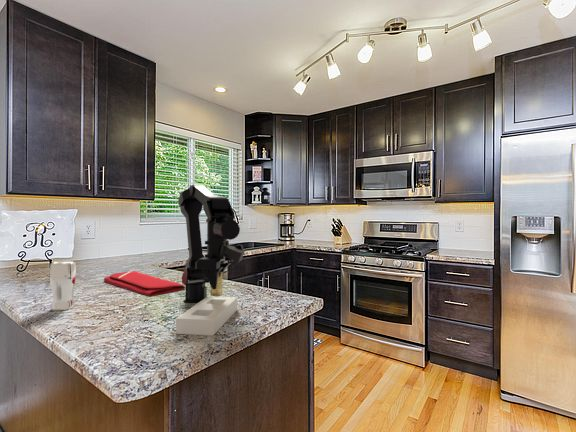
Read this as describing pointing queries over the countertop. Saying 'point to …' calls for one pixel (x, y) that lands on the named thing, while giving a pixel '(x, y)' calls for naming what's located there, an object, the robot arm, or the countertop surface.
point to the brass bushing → (219, 286)
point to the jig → (206, 316)
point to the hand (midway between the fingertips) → (216, 287)
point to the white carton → (62, 284)
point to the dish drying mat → (143, 283)
